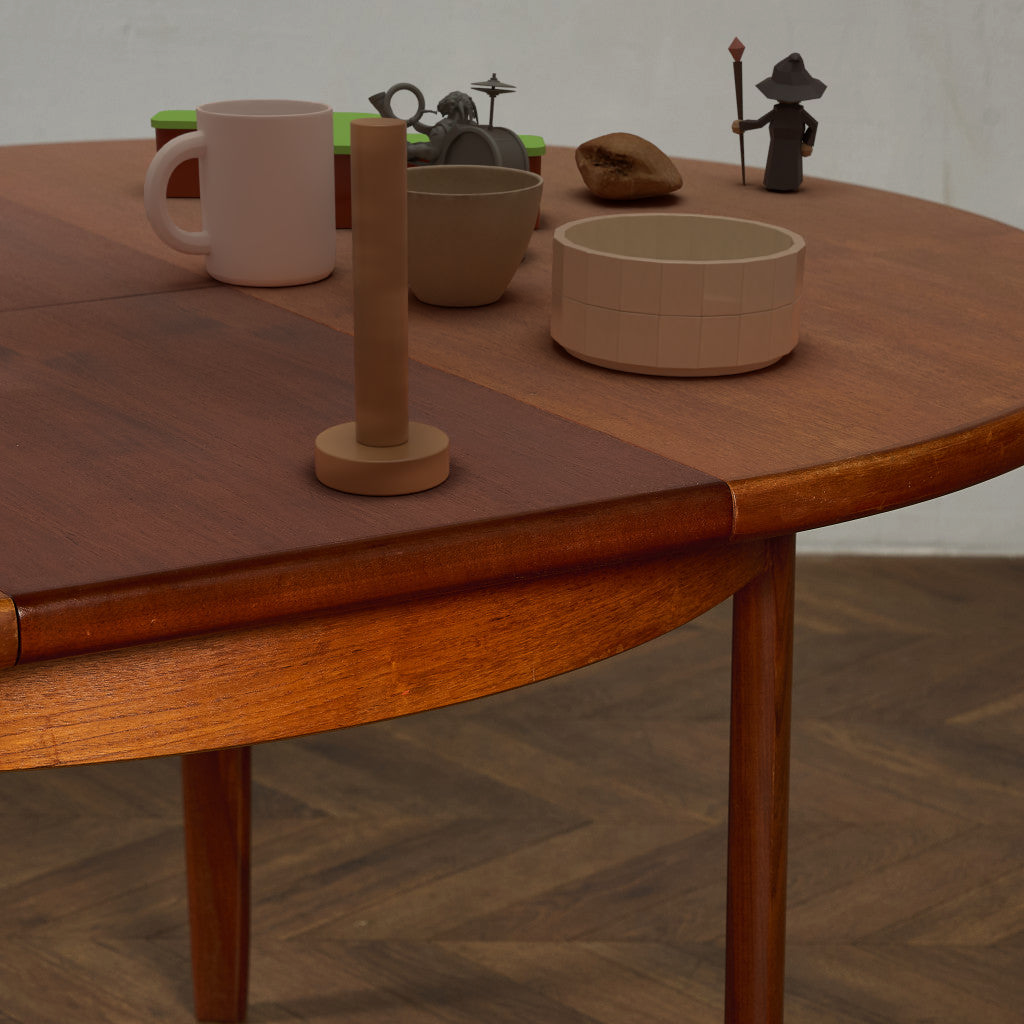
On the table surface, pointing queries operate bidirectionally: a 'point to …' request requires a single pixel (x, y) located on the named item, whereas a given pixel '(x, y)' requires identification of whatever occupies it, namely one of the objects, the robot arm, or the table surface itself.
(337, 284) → the table surface
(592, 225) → the bowl
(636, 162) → the brown rounded lump
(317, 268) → the mug
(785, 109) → the wizard figurine
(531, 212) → the flower pot
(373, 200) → the masher
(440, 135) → the figurine
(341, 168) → the planter
